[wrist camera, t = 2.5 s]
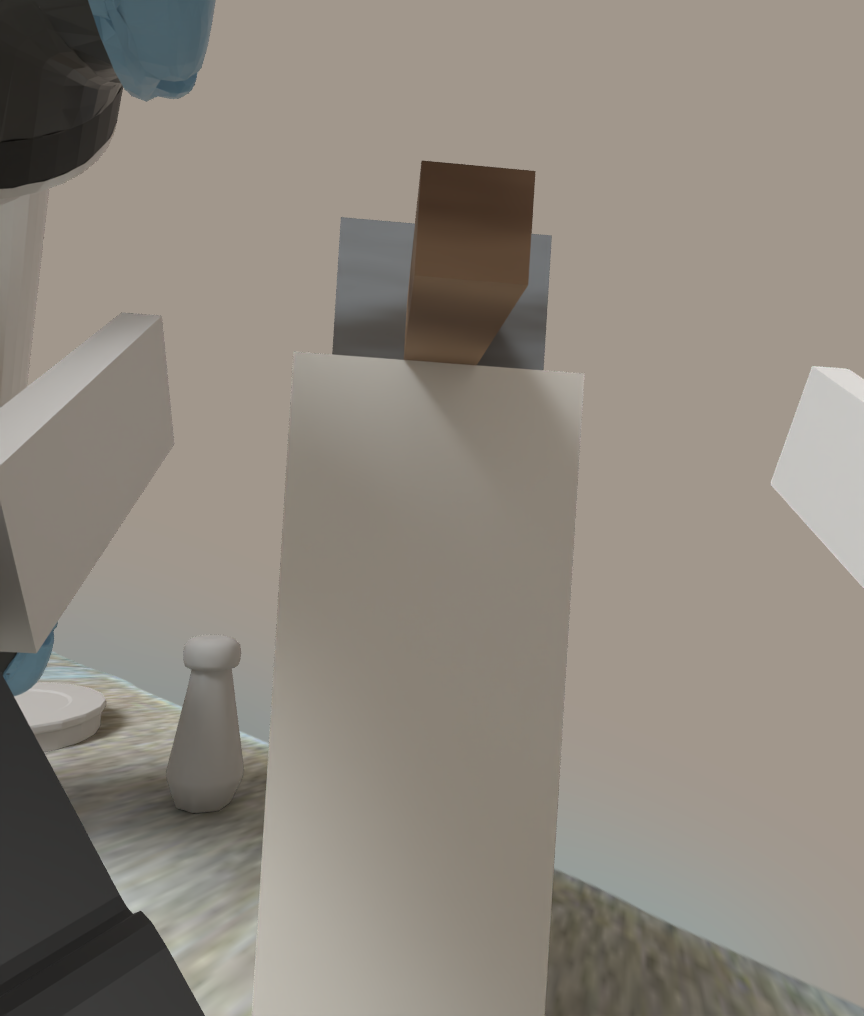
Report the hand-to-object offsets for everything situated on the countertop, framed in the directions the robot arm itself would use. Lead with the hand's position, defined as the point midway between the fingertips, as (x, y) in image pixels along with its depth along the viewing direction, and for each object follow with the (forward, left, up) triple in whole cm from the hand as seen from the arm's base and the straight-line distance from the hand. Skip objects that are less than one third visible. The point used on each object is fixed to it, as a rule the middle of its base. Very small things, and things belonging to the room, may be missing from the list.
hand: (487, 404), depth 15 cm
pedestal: (-14, +17, -26) cm, 34 cm away
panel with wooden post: (-9, +10, +4) cm, 14 cm away
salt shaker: (-39, +24, -26) cm, 53 cm away
